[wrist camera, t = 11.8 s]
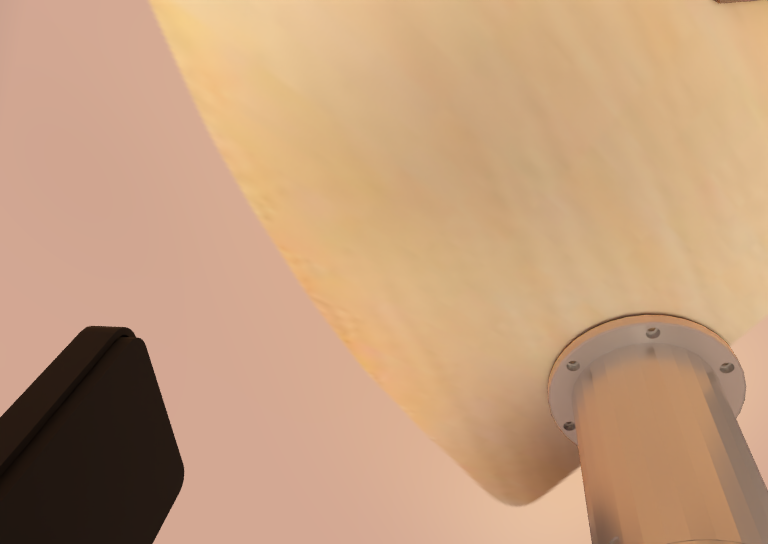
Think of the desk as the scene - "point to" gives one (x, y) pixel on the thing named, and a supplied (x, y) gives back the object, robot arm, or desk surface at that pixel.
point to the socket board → (730, 0)
